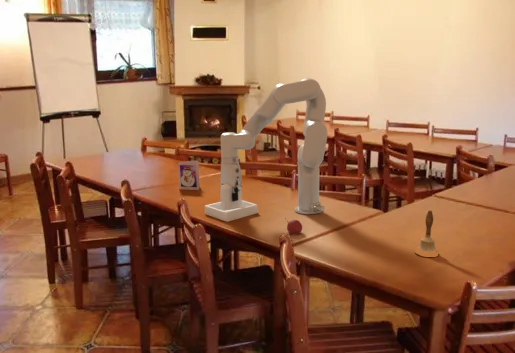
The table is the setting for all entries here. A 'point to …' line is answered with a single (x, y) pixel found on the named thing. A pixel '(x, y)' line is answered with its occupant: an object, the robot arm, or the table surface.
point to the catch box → (231, 211)
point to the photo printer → (229, 198)
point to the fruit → (294, 227)
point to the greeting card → (188, 175)
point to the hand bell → (428, 235)
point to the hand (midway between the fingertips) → (231, 199)
